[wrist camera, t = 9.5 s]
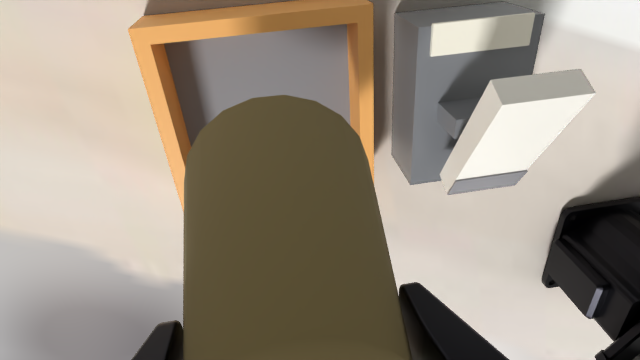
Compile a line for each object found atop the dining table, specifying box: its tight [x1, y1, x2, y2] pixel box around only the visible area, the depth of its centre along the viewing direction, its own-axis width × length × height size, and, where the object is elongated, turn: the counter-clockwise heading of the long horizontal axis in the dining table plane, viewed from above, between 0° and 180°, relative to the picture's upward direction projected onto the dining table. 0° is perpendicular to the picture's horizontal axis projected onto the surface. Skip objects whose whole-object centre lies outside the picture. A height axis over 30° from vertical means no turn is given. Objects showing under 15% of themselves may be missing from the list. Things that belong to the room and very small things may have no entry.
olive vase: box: [183, 95, 413, 360], centre depth 9 cm, size 6×6×11 cm
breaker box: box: [391, 2, 545, 185], centre depth 18 cm, size 5×7×5 cm
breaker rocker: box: [440, 69, 596, 195], centre depth 15 cm, size 3×6×1 cm, turn 4°
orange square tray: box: [128, 0, 374, 212], centre depth 18 cm, size 9×9×2 cm
